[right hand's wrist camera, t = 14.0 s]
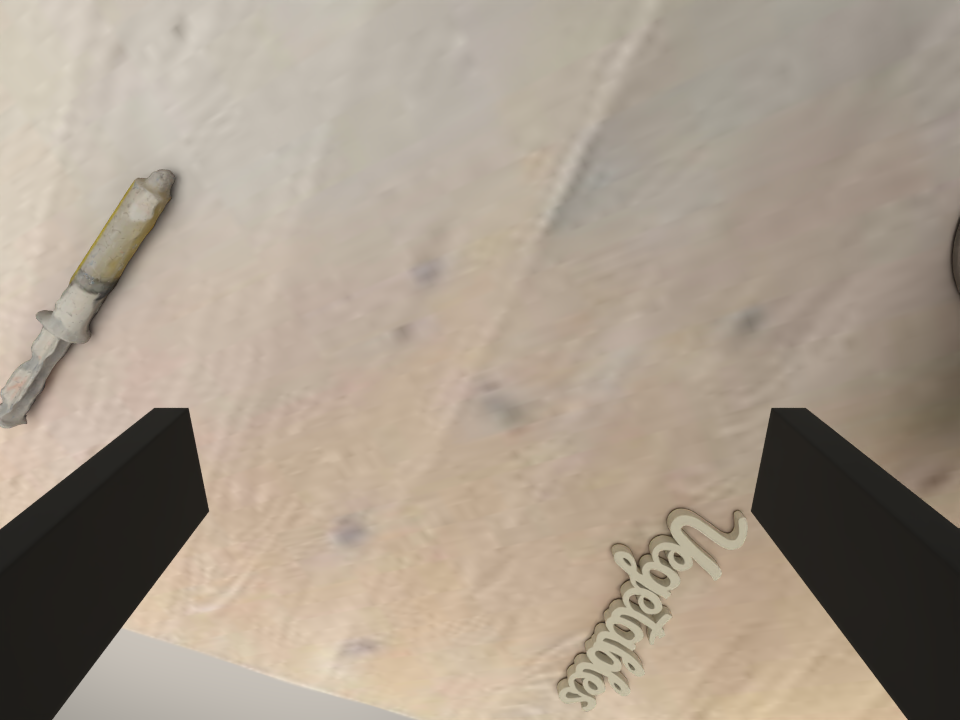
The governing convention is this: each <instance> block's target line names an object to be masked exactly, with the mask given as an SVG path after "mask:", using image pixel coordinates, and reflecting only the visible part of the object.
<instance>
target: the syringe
mask: <svg viewBox="0 0 960 720" xmlns="http://www.w3.org/2000/svg"><path fill="white" fill-rule="evenodd" d="M174 181H175V176H174V174H173V173H172V172H171V171H169V170H163V169H161V170H158V171H155V172H153V173H152V174H151V175H150V176H149V178H137V179H136V180H134V182H133V183H132V185H131V186H130V188H129V189H128V191H127V192H126V194H125V195H124V197H123V199H122V200H121V201H120V203H119V205H118V206H117V208H116V209H115V211H114V212H113V214H112V216H111V217H110V219H109V220H108V222H107V224H106V225H105V226H104V228H103V230H102V231H101V233H100V234H99V236H98V238H97V239H96V241H95V242H94V244H93V245H92V247H91V248H90V250H89V251H88V253H87V254H86V256H85V257H84V259H83V261H82V262H81V264H80V265H79V267H78V268H77V270H76V271H75V273H74V274H73V276H72V277H71V280H70V283H69V286H68V287H67V289H66V290H65V291H64V292H63V294H62V296H61V298H60V299H59V300H58V301H57V302H56V304H55V309H54V311H47V310H43V311H40V312H38V313H37V314H36V318H37V320H38V321H39V322H40V323H41V324H42V325H43V328H42V330H41V333H40V334H39V336H38V337H37V338H36V340H35V341H34V342H33V345H32V347H31V351H32V358H31V359H30V360H29V361H27V362H25V363H23V364H22V365H20V366H19V367H18V368H17V369H16V370H15V371H14V373H13V374H12V375H11V377H10V378H9V380H8V381H7V383H6V385H5V386H4V388H3V389H2V390H1V392H0V396H1V397H2V400H3V403H1V404H0V427H2V428H11V427H14V426H17V425H20V424H27V420H26V416H27V415H25V414H26V413H27V412H28V411H29V409H30V407H31V406H32V404H33V403H34V402H35V398H36V396H37V395H38V394H40V393H41V392H42V391H43V389H44V387H45V381H46V379H47V377H48V376H49V374H50V372H51V370H52V369H53V367H54V366H55V365H56V363H57V362H58V361H59V360H60V359H61V358H62V357H63V356H64V355H65V353H66V352H67V350H68V349H69V347H70V346H71V344H72V343H75V344H82V343H86V342H87V341H88V340H89V339H90V337H91V332H90V330H89V324H90V322H91V320H92V319H93V317H94V316H95V315H96V314H97V312H98V310H99V308H100V307H101V305H102V304H103V302H104V301H105V299H106V297H107V295H108V294H109V293H110V292H111V291H112V290H113V288H114V287H115V286H116V284H117V282H118V280H119V278H120V276H121V274H122V272H123V271H124V269H125V267H126V265H127V264H128V262H129V260H130V259H131V258H132V256H133V255H134V253H135V252H136V250H137V249H138V247H139V245H140V244H141V242H142V241H143V240H144V238H145V237H146V235H147V234H148V233H149V232H150V231H151V230H152V228H153V227H154V225H155V223H156V221H157V219H158V217H159V215H160V214H161V212H162V211H163V209H164V207H165V205H166V204H167V203H168V202H169V201H170V200H171V198H172V197H171V196H170V189H171V187H172V185H173V183H174Z"/></svg>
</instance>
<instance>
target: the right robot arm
mask: <svg viewBox="0 0 960 720" xmlns="http://www.w3.org/2000/svg"><path fill="white" fill-rule="evenodd" d="M953 272H954V278H955V282H956V285H957V288H958V290H959V293H960V224H959V226H958V229H957V233H956V237H955V241H954V248H953ZM208 512H209V508H208V503H207V498H206V493H205V488H204V483H203V478H202V473H201V468H200V463H199V458H198V453H197V448H196V443H195V438H194V433H193V428H192V423H191V418H190V413H189V408H154V409H152V410H151V411H150V412H149V413H147V414H146V415H145V416H144V417H142V418H141V419H140V420H139V421H137V422H136V423H135V424H133V425H132V426H131V427H130V428H128V429H127V430H126V431H125V432H123V433H122V434H121V435H120V436H118V437H117V438H116V439H114V440H113V441H112V442H111V443H109V444H108V445H107V446H106V447H104V448H103V449H102V450H100V451H99V452H98V453H97V454H95V455H94V456H93V457H92V458H90V459H89V460H88V461H87V462H85V463H84V464H83V465H81V466H80V467H79V468H78V469H76V470H75V471H74V472H73V473H71V474H70V475H69V476H67V477H66V478H65V479H64V480H62V481H61V482H60V483H59V484H57V485H56V486H55V487H54V488H52V489H51V490H50V491H48V492H47V493H46V494H45V495H43V496H42V497H41V498H40V499H38V500H37V501H36V502H34V503H33V504H32V505H31V506H29V507H28V508H27V509H26V510H24V511H23V512H22V513H21V514H19V515H18V516H17V517H15V518H14V519H13V520H12V521H10V522H9V523H8V524H7V525H5V526H4V527H3V528H1V529H0V720H52V719H53V718H54V717H55V715H56V714H57V713H58V711H59V710H60V709H61V707H62V706H63V705H64V703H65V702H66V700H67V699H68V698H69V697H70V695H71V694H72V693H73V691H74V690H75V689H76V687H77V686H78V685H79V683H80V682H81V681H82V679H83V678H84V677H85V675H86V674H87V673H88V671H89V670H90V669H91V667H92V666H93V665H94V663H95V662H96V661H97V659H98V658H99V657H100V655H101V654H102V653H103V651H104V650H105V649H106V647H107V646H108V645H109V644H110V642H111V641H112V639H113V638H114V637H115V636H116V634H117V633H118V632H119V630H120V629H121V628H122V626H123V625H124V624H125V622H126V621H127V620H128V618H129V617H130V616H131V614H132V613H133V612H134V610H135V609H136V608H137V606H138V605H139V604H140V602H141V601H142V600H143V598H144V597H145V596H146V594H147V593H148V592H149V590H150V589H151V588H152V586H153V585H154V584H155V582H156V581H157V580H158V578H159V577H160V576H161V574H162V573H163V572H164V570H165V569H166V568H167V566H168V565H169V564H170V563H171V561H172V560H173V559H174V557H175V556H176V555H177V553H178V552H179V551H180V549H181V548H182V547H183V545H184V544H185V543H186V541H187V540H188V539H189V537H190V536H191V535H192V533H193V532H194V531H195V529H196V528H197V527H198V525H199V524H200V523H201V521H202V520H203V519H204V517H205V516H206V515H207V513H208ZM751 512H752V513H753V515H754V516H755V517H756V519H757V520H758V521H759V523H760V524H761V525H762V527H763V528H764V529H765V531H766V532H767V533H768V535H769V536H770V537H771V539H772V540H773V541H774V543H775V544H776V545H777V547H778V548H779V549H780V551H781V552H782V553H783V555H784V556H785V557H786V559H787V560H788V561H789V563H790V564H791V565H792V566H793V568H794V569H795V570H796V572H797V573H798V574H799V576H800V577H801V578H802V580H803V581H804V582H805V584H806V585H807V586H808V588H809V589H810V590H811V592H812V593H813V594H814V596H815V597H816V598H817V600H818V601H819V602H820V604H821V605H822V606H823V608H824V609H825V610H826V612H827V613H828V614H829V616H830V617H831V618H832V620H833V621H834V622H835V624H836V625H837V626H838V628H839V629H840V630H841V632H842V633H843V634H844V636H845V637H846V638H847V640H848V641H849V642H850V644H851V645H852V646H853V648H854V649H855V650H856V651H857V653H858V654H859V655H860V657H861V658H862V659H863V661H864V662H865V663H866V665H867V666H868V667H869V669H870V670H871V671H872V673H873V674H874V675H875V677H876V678H877V679H878V681H879V682H880V683H881V685H882V686H883V687H884V689H885V690H886V691H887V693H888V694H889V695H890V697H891V698H892V699H893V701H894V702H895V703H896V705H897V706H898V707H899V709H900V710H901V711H902V713H903V714H904V715H905V717H906V718H907V719H908V720H960V528H957V527H956V526H955V525H953V524H952V523H951V522H950V521H948V520H947V519H946V518H945V517H943V516H942V515H941V514H939V513H938V512H937V511H936V510H934V509H933V508H932V507H931V506H929V505H928V504H927V503H926V502H924V501H923V500H922V499H920V498H919V497H918V496H917V495H915V494H914V493H913V492H912V491H910V490H909V489H908V488H906V487H905V486H904V485H903V484H901V483H900V482H899V481H898V480H896V479H895V478H894V477H893V476H891V475H890V474H889V473H887V472H886V471H885V470H884V469H882V468H881V467H880V466H879V465H877V464H876V463H875V462H873V461H872V460H871V459H870V458H868V457H867V456H866V455H865V454H863V453H862V452H861V451H860V450H858V449H857V448H856V447H854V446H853V445H852V444H851V443H849V442H848V441H847V440H846V439H844V438H843V437H842V436H840V435H839V434H838V433H837V432H835V431H834V430H833V429H832V428H830V427H829V426H828V425H827V424H825V423H824V422H823V421H821V420H820V419H819V418H818V417H816V416H815V415H814V414H813V413H811V412H810V411H809V410H808V409H806V408H771V413H770V418H769V423H768V428H767V433H766V438H765V443H764V448H763V453H762V458H761V463H760V468H759V473H758V478H757V483H756V488H755V493H754V498H753V503H752V508H751Z"/></svg>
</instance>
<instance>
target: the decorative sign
mask: <svg viewBox="0 0 960 720" xmlns="http://www.w3.org/2000/svg"><path fill="white" fill-rule="evenodd" d="M734 523H735V525H734V529H733V531H732V532H731V533H728V534H727V533H723V532H721V531H720V530H718V529H717V528H715V527H714V526H713V525H711V524H710V523H709V522H707V521H706V520H704V519H703V518H702V517H700V516H699V515H697V514H696V513H694V512H692V511H690V510H687V509H676V510H674V511H672V512H671V513H670V514H669V516H668V518H667V525H668V528H669V530H670V532H671V534H672V536H673V537H670V536H665V535H660V536H657V537H655V538H654V539H653V540H652V541H651V542H650V544H649V551H650V553H651V555H644V556H643V557H641V559H640V561H639V566H640V568H639V567H637V566H636V562H635V559H634V557H633V554H632V552H631V551H630V549H629V548H628V547H626V546H624V545H621V544H616V545H614V546H613V547H612V554H613V557H614V560H615V562H616V563H617V565H619V566H620V567H621V568H622V569H623V570H624V571H625V572H626V573H628V575H629V578H630V580H629V581H627V582H625V583H624V584H623V585H622V586H621V589H620V593H621V596H622V599H623V600H622V599H617V600H614V601H613V602H612V603H611V604H610V606H609V609H607V610H606V611H605V612H604V620H605V623H600V624H598V625H597V626H596V627H595V631H594V634H593V635H592V638H591V639H589V640H587V641H586V642H585V648H586V653H587V654H579V655H577V656H576V657H575V659H574V664H573V665H571V666H570V667H569V668H568V670H567V679H563V680H561V681H560V682H559V683H558V686H557V689H558V696H559V699H560V700H561V701H562V702H563V703H566V704H572V703H577V702H581V706H582V710H583V711H591V710H592V709H594V708H595V706H596V699H595V695H600V694H603V693H604V692H605V684H604V680H603V676H602V675H604V676H606V677H607V678H608V681H609V684H610V685H611V687H612V688H613V689H614V690H615V691H616V692H617V693H618V694H619V695H621V696H627V695H629V694H630V688H629V684H628V681H627V679H626V678H625V677H624V675H623V674H622V673H621V672H620V670H621V668H622V665H621V661H620V657H619V656H621V658H622V661H623V664H624V665H625V667H626V668H627V669H628V670H629V671H630V672H631V673H632V674H634V675H635V676H638V677H641V676H643V675H644V674H645V672H644V668H643V665H642V662H641V660H640V659H639V658H638V656H637V655H636V654H635V653H634V652H633V650H634V649H635V648H636V645H635V643H637V642H640V641H641V640H642V639H643V636H644V635H643V631H642V628H641V625H640V623H639V622H638V621H640V622H641V623H643V624H645V625H646V626H648V627H647V637H648V640H649V643H650V644H651V645H653V644H654V640H655V638H656V636H658V637H659V638H662V637H664V636H665V632H664V630H663V626H664V625H665V624H666V623H667V622H668V621H669V620H670V619H671V618H672V614H671V612H670V609H669V608H667V607H665V606H662V603H661V600H660V598H659V595H660V596H661V597H663V598H665V599H668V597H669V596H670V595H671V592H670V590H673V589H675V588H677V587H678V586H679V584H680V577H679V575H678V573H677V571H686V570H688V569H690V568H691V567H692V565H693V560H692V558H693V559H694V560H695V561H696V562H697V563H698V564H699V565H700V566H701V567H702V568H703V569H704V570H705V571H707V572H708V573H709V574H710V575H711V577H712V578H713V580H714V581H716V580H718V579H719V578H720V577H721V574H722V572H721V569H720V568H719V566H718V564H717V562H716V561H715V560H714V559H713V558H712V557H711V556H710V555H709V554H708V553H707V552H706V551H704V550H703V549H702V548H701V547H700V546H698V545H697V544H696V543H695V542H694V541H693V540H692V539H691V538H690V537H689V536H688V535H687V534H686V533H685V532H684V531H683V530H682V529H681V528H682V527H683V526H686V525H687V526H691V527H693V528H695V529H696V530H698V531H700V532H701V533H702V534H704V535H705V536H706V537H708V538H709V539H710V540H712V541H713V542H715V543H716V544H718V545H719V546H721V547H723V548H725V549H728V550H735V549H738V548H740V547H741V546H742V545H743V543H744V541H745V539H746V536H747V529H748V526H747V520H746V518H745V516H744V515H743V514H742V512H741V511H736V512H734ZM662 550H665V554H666V556H667V558H668V561H669V562H667V561H666V560H664V559H662V558H660V557H658V554H659V552H660V551H662ZM675 552H676V553H678V554H679V555H680V556H681V557H675V556H674V553H675ZM651 569H653V570H658V571H660V572H662V573H664V574H665V575H666V576H667V578H665V579H660V578H658V577H656V576H654V575H653V574H652V573H651V572H650V570H651ZM676 570H677V571H676ZM632 595H636V598H637V601H638V603H639V606H638V605H636V604H634V603H632V602H631V601H630V600H629V598H630V596H632ZM644 597H646V598H648V599H649V600H650V601H646V600H644ZM651 614H654V615H653V616H652V615H651ZM614 624H621V625H624V626H626V627H627V628H629V629H630V630H631V631H629V632H625V631H622V630H621V629H619V628H618V627H616V626H615V625H614ZM599 651H602V652H604V653H605V654H606V655H608V656H606V655H604V654H602V653H600V652H599ZM601 674H602V675H601ZM576 678H582V683H583V686H582V685H580V684H578V683H577V682H576V681H575V679H576Z"/></svg>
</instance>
